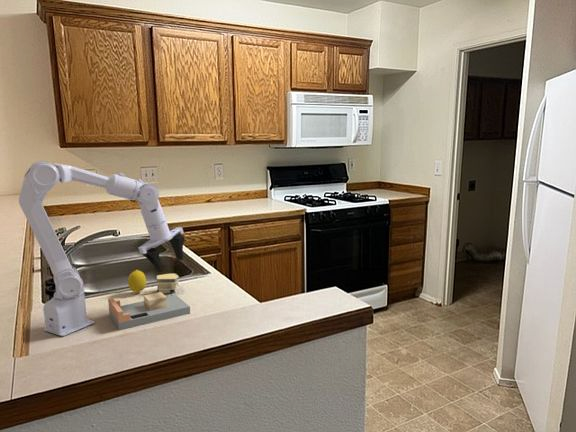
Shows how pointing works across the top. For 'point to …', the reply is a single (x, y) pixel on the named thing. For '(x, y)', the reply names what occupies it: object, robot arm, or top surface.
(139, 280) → the lemon
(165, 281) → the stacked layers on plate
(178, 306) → the slate board
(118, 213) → the top surface
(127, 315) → the terracotta end wall
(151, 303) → the birch block
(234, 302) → the top surface
